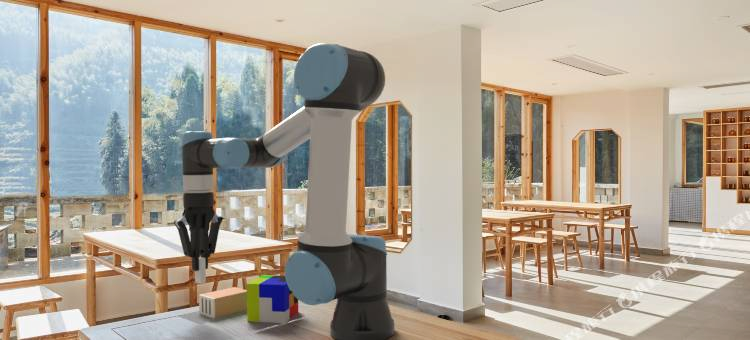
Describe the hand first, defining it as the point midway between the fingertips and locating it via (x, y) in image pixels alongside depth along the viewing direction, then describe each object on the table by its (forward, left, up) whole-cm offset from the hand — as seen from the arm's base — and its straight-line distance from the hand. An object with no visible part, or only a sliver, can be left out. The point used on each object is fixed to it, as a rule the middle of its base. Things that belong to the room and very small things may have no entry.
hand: (200, 282), depth 143 cm
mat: (0, -4, -9) cm, 10 cm away
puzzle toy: (-14, -12, -10) cm, 21 cm away
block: (0, -1, -7) cm, 7 cm away
